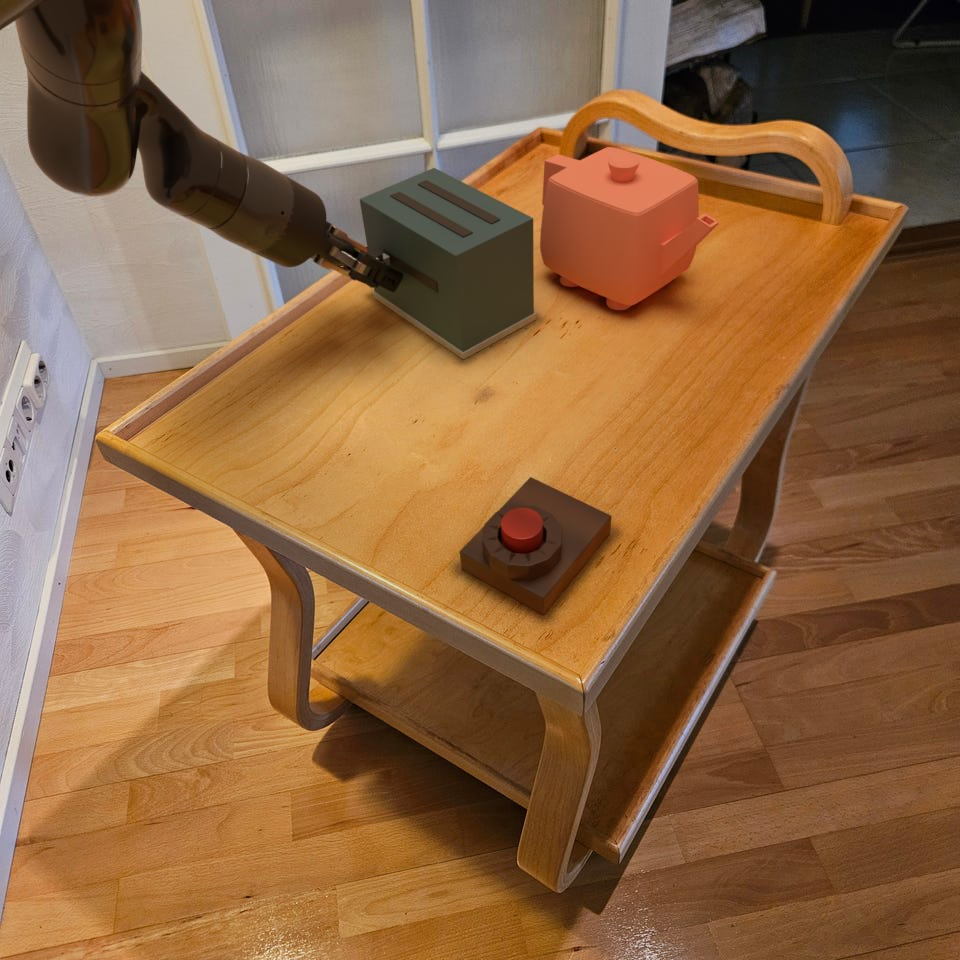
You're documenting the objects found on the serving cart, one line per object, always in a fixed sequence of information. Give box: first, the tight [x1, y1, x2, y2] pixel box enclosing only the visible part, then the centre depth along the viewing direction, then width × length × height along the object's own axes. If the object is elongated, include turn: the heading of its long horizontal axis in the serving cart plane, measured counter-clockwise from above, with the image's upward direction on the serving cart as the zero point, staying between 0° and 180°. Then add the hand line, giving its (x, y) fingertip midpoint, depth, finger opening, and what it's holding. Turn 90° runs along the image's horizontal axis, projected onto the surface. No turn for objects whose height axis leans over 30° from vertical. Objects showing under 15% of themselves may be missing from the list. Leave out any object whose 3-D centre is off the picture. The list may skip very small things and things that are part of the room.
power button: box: [501, 508, 543, 553], centre depth 63 cm, size 3×3×2 cm
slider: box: [365, 245, 391, 289], centre depth 87 cm, size 3×2×3 cm
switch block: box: [459, 476, 613, 616], centre depth 66 cm, size 10×8×4 cm
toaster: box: [359, 167, 537, 360], centre depth 88 cm, size 10×16×12 cm, turn 40°
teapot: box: [539, 146, 720, 311], centre depth 90 cm, size 22×13×14 cm, turn 44°
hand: (387, 276), depth 89 cm, fingers closed on toaster, 2 cm apart
